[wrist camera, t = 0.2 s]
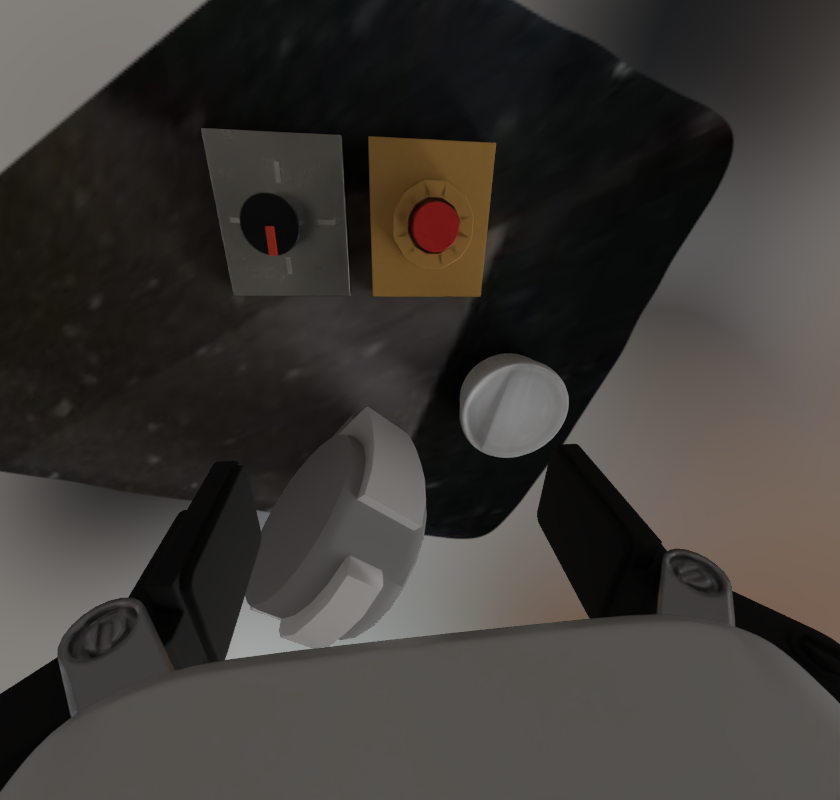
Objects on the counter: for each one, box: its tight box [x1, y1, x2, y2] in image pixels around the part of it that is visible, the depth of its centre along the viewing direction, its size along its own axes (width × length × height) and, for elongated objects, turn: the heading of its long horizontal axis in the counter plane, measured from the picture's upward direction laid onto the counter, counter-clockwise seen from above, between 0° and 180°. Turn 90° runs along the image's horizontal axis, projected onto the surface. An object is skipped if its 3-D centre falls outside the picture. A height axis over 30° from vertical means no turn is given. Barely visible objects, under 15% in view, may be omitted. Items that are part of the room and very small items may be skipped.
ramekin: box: [460, 353, 569, 457], centre depth 41 cm, size 11×11×5 cm
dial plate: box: [201, 128, 351, 296], centre depth 32 cm, size 12×10×2 cm
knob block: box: [368, 136, 496, 297], centre depth 32 cm, size 12×10×4 cm
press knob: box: [411, 201, 459, 252], centre depth 30 cm, size 4×4×2 cm
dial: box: [239, 192, 309, 256], centre depth 28 cm, size 4×4×5 cm
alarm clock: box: [245, 406, 427, 649], centre depth 36 cm, size 18×8×20 cm, turn 138°
